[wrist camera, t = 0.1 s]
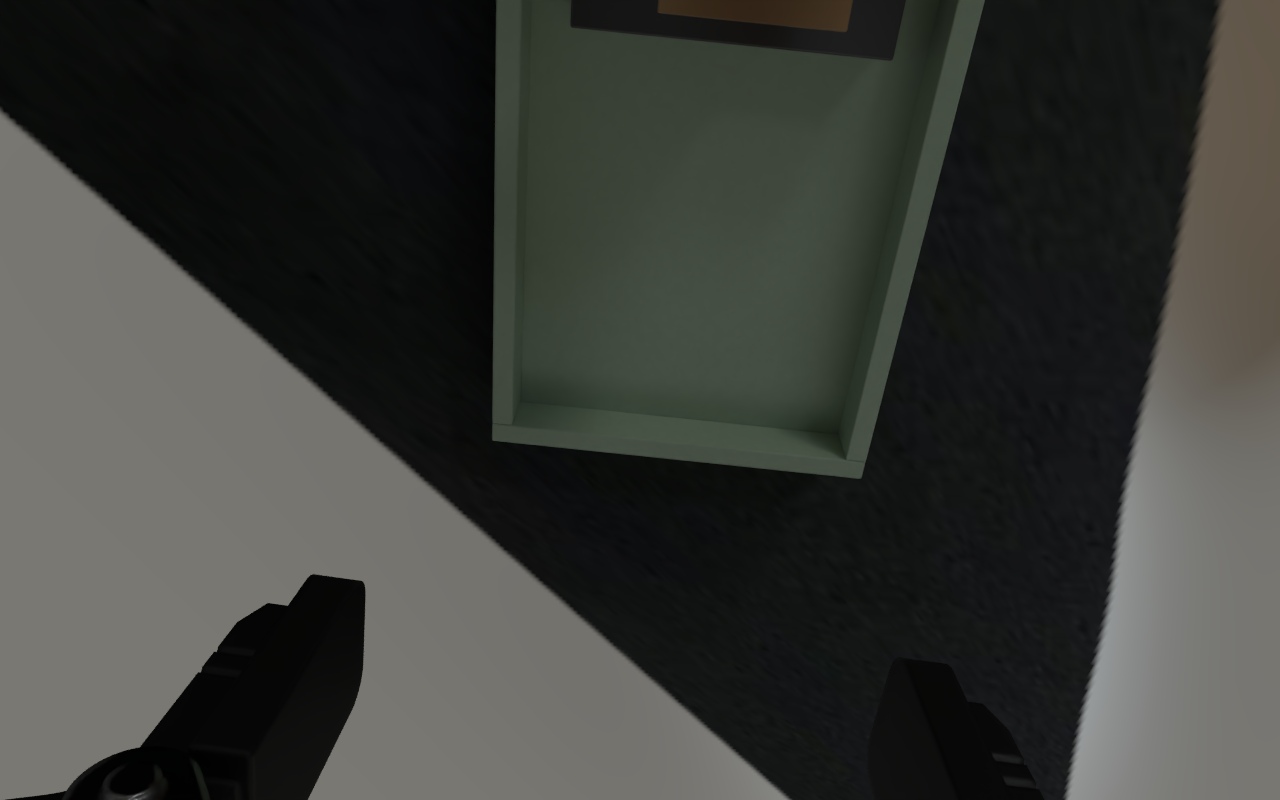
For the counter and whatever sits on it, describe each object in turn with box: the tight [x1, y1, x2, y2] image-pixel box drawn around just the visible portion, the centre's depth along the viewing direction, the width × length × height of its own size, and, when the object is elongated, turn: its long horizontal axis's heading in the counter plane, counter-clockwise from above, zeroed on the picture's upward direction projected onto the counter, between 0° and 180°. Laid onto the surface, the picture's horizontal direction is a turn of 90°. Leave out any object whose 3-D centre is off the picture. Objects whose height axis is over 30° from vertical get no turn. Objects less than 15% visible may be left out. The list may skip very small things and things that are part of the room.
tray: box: [492, 0, 985, 479], centre depth 30 cm, size 24×15×3 cm, turn 175°
